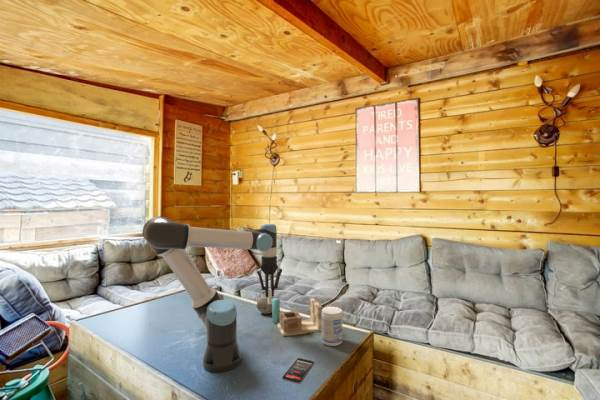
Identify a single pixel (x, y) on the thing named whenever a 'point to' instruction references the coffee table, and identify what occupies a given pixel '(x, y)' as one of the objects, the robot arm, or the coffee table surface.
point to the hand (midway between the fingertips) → (269, 303)
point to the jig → (308, 321)
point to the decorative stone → (264, 305)
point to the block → (290, 321)
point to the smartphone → (298, 370)
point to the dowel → (275, 310)
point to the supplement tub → (332, 326)
